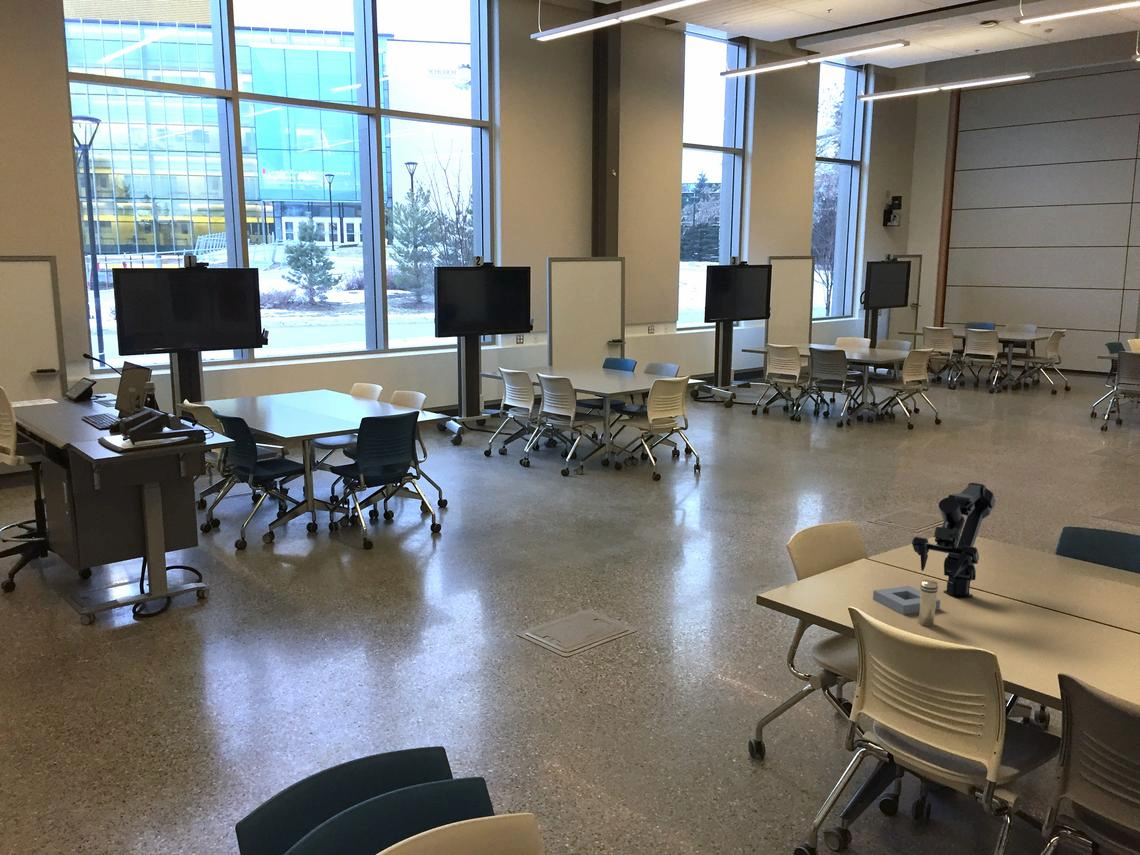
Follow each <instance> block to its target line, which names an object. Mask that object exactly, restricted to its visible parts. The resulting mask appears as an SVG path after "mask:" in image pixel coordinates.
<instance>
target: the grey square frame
mask: <svg viewBox="0 0 1140 855" xmlns="http://www.w3.org/2000/svg"><path fill="white" fill-rule="evenodd" d="M872 592H873V594H872V600H874V601H875V602H876V603H879V604H881V605H883V606H885V607H887V608H889V609H891V610H893V611H895V612H897V613H899V614H900V615H903V616H904V615H911V614H917V613H918V614H919V606H920V594H921V590H919V589H917V588H915V587H912V586H910V585H904V586H895V587H889V588H882V589H874V590H873V591H872ZM940 606H941V600H940V599H938V598H936V607H935V611H937V610H938V611H939V610H940V608H941V607H940Z"/></svg>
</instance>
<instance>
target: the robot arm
mask: <svg viewBox="0 0 1140 855" xmlns="http://www.w3.org/2000/svg"><path fill="white" fill-rule="evenodd" d="M947 496H948V497H945V498H943V499H942V500H940V501H939V503H938V509H939V512H940V516H941V518H942V520H943V521H942V522H943V523H942V526H941V527H940V526H935V528H934V534H933V537H934V541H935V543H936V544H935V543H931V542H929V541H928V538H927V537H923V536H914V537H913V539H912V540H911V545H912V548H913V550H914V552H915V553H917V555H918V556H920V568H921V571H922V572H924V570H925V568H926V565H927V561H928V557H929V554H928V553H929V551H935V552H940V553H944V554H947V556H946V557H945V558H944V562H943V576H947V577H948V578H947V582H946V590H943V591H942V592H943V593H945V594H947V595H949V596H951V597H952V598H956V599H965V598H971V597H970V596H972V597H973V595H974V594H972V593H970V586H971V582H972V581H976V578H977V577H976V576H977V570H976V567H975V565H978V563H979V560H980V554H979V550H978V548H977V547H975V546H974V545H975V543H976V539H977V537H978V533H979V530H980V529H981V528H980V527H981V525H982V522H983V520H984V519H985V518H986V517H988V516H990V514H991V512H992V509H994V508H995V505H996V498H995V494H994V493H993V492H992V491H990V490H989V489H988V488H987V486H986V484H983V483H980V482H979V483H977V482H969V483H968V484H967V487H965V488H964V489H963V490H962V491H961V492H960V493H953V494H948V495H947ZM964 516H967V517H966V519H965V518H964Z"/></svg>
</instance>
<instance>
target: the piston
mask: <svg viewBox="0 0 1140 855" xmlns="http://www.w3.org/2000/svg"><path fill="white" fill-rule="evenodd" d="M938 587H939V586H938V582H937V581H935V580H932V579H923V580H921V583H920V588H919V589H920V591H921V594H920V606H919V613H918V620H917V624H918V625H920V626H921V627H927V628H930V627H933V626H935V617H936V610H935V607H936V599H937V596H938V594H937V593H938Z"/></svg>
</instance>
